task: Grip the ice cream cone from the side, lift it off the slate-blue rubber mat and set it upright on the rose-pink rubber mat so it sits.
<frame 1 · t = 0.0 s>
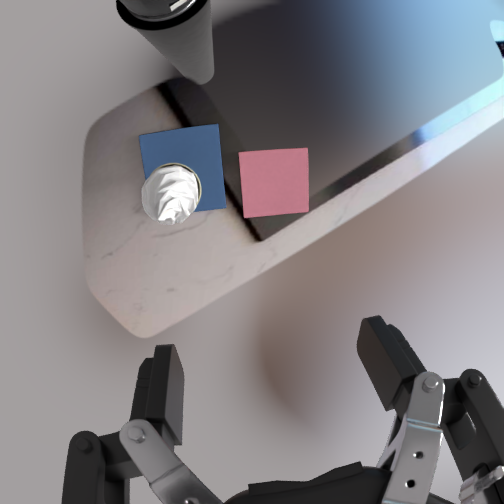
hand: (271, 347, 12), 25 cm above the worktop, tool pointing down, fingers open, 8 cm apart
rose mat: (275, 182, 34), on the worktop
ice cream cone: (183, 171, 32), resting on blue mat
blue mat: (183, 171, 32), on the worktop
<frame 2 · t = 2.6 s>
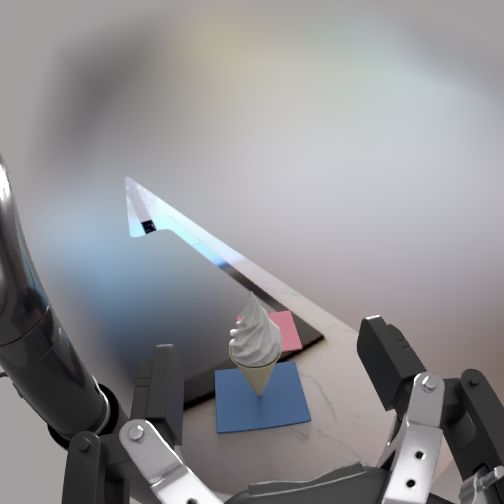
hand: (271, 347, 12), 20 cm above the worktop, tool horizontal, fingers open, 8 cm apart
rose mat: (267, 333, 40), on the worktop
ice cream cone: (259, 395, 31), resting on blue mat
blue mat: (259, 396, 31), on the worktop
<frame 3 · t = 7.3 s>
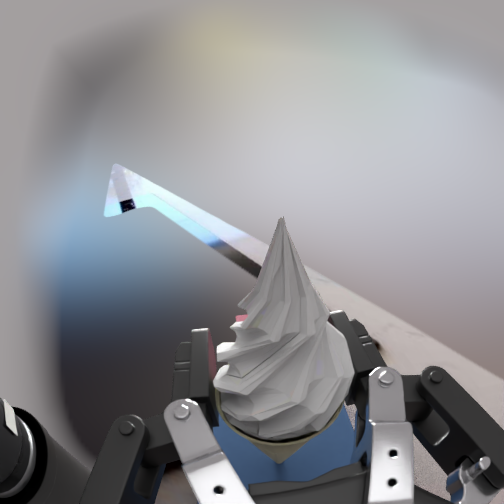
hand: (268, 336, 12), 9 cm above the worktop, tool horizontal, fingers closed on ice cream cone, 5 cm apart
ice cream cone: (279, 461, 14), resting on blue mat, touching gripper
blue mat: (279, 462, 14), on the worktop
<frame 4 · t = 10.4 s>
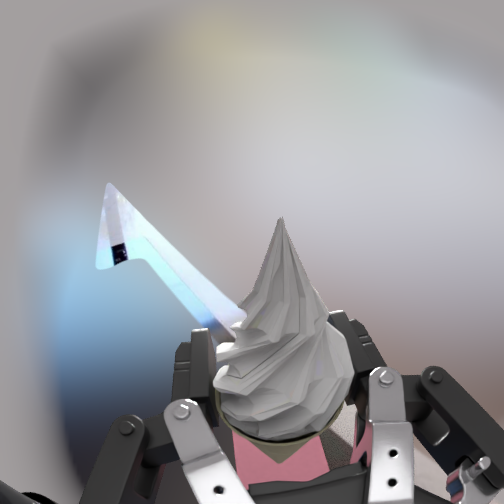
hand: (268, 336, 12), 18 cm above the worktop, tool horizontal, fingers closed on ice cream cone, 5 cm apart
rose mat: (279, 458, 22), on the worktop
ice cream cone: (279, 461, 14), point 9 cm above the worktop, touching gripper
when the fingers open (9 cm above the worktop, at t = 13.8 s): ice cream cone stays where it is, resting on rose mat.
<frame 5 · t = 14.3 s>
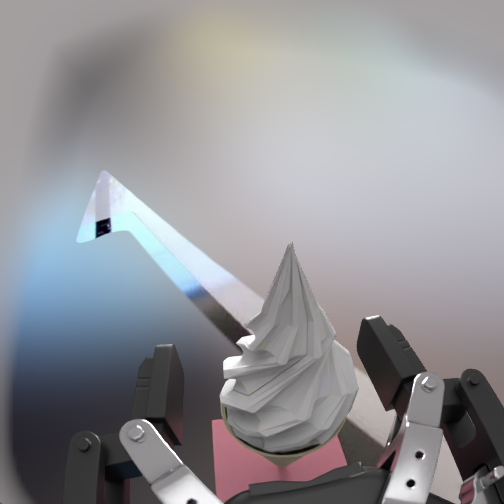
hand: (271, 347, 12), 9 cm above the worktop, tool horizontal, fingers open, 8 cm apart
rose mat: (279, 465, 15), on the worktop
ice cream cone: (282, 465, 14), resting on rose mat
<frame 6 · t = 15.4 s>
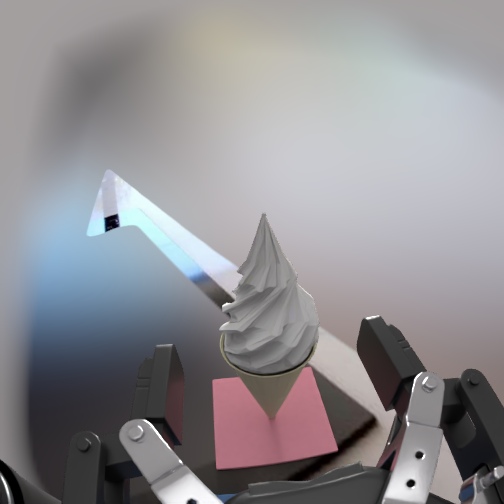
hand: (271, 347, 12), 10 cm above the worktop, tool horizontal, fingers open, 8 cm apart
rose mat: (269, 416, 19), on the worktop
ice cream cone: (271, 417, 19), resting on rose mat
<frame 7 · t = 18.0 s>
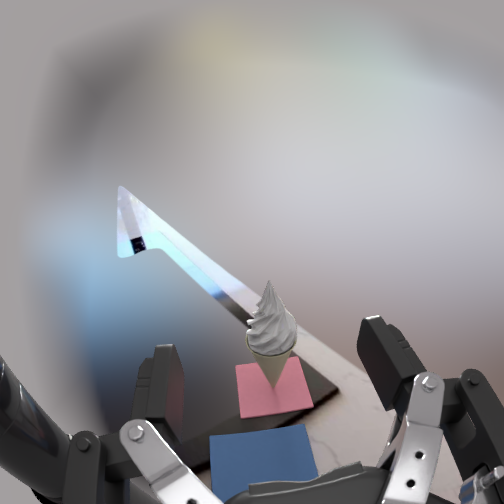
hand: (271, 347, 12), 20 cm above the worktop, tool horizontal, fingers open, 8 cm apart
rose mat: (272, 386, 32), on the worktop
ice cream cone: (273, 387, 32), resting on rose mat
blue mat: (262, 468, 23), on the worktop
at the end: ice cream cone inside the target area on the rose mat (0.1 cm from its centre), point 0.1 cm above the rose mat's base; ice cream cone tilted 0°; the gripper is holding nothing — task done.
